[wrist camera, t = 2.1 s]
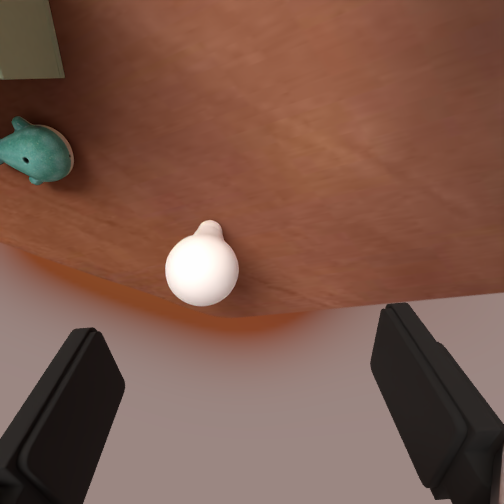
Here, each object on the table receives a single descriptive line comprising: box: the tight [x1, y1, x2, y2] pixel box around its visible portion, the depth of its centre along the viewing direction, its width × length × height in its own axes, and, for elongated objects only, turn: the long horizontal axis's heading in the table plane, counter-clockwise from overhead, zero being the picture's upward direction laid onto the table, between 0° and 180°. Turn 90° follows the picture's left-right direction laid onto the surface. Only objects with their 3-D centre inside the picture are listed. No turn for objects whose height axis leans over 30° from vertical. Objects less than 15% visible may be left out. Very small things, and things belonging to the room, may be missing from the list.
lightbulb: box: [165, 220, 239, 306], centre depth 27 cm, size 6×6×11 cm
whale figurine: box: [0, 116, 74, 185], centre depth 25 cm, size 6×7×4 cm
